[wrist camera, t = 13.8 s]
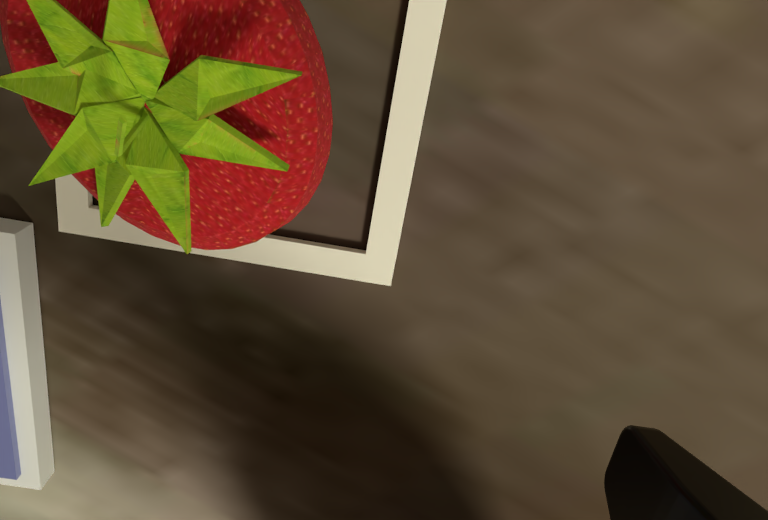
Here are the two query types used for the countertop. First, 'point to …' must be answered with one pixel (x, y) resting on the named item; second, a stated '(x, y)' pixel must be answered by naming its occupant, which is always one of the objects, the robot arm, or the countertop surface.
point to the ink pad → (22, 364)
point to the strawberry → (177, 109)
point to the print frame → (390, 193)
